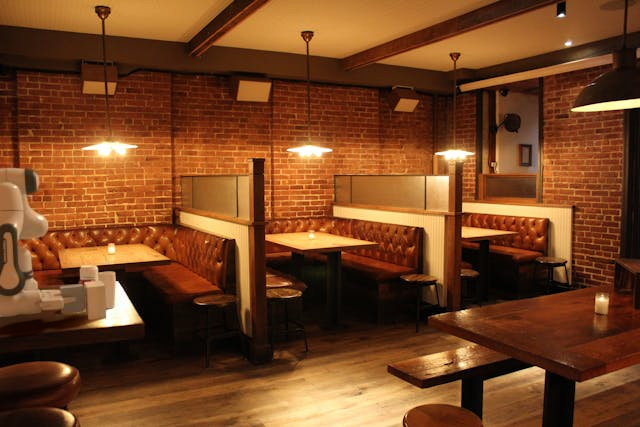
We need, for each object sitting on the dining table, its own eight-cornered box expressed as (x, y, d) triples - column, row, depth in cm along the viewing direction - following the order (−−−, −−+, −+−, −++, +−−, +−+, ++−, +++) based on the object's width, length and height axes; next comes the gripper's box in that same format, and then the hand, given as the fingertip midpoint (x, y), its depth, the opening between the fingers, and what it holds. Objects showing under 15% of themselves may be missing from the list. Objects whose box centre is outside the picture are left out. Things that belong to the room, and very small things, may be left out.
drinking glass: (107, 305, 238) (106, 270, 237) (120, 306, 236) (118, 271, 235) (96, 308, 232) (94, 273, 231) (108, 310, 230) (107, 274, 228)
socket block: (85, 313, 225) (84, 282, 223) (102, 311, 228) (101, 280, 227) (88, 320, 215) (87, 287, 214) (106, 317, 218) (105, 285, 217)
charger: (61, 311, 217) (60, 286, 216) (86, 308, 221) (85, 284, 220) (62, 313, 213) (61, 288, 212) (87, 311, 217) (86, 286, 217)
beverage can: (102, 289, 270) (101, 264, 269) (91, 292, 262) (90, 267, 261) (87, 288, 271) (86, 264, 270) (77, 291, 264) (75, 267, 263)
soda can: (100, 303, 241) (99, 276, 240) (91, 307, 234) (90, 280, 233) (84, 303, 241) (83, 276, 240) (76, 307, 234) (74, 279, 233)
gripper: (35, 298, 201) (77, 294, 208) (34, 288, 219) (72, 284, 225) (36, 315, 201) (77, 310, 208) (34, 304, 219) (72, 300, 226)
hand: (74, 297), depth 217 cm, fingers closed on charger, 4 cm apart
